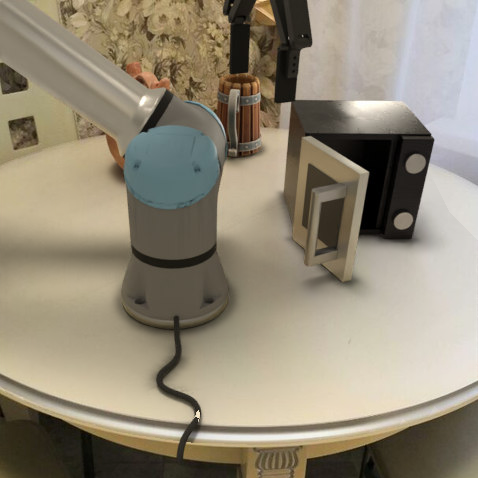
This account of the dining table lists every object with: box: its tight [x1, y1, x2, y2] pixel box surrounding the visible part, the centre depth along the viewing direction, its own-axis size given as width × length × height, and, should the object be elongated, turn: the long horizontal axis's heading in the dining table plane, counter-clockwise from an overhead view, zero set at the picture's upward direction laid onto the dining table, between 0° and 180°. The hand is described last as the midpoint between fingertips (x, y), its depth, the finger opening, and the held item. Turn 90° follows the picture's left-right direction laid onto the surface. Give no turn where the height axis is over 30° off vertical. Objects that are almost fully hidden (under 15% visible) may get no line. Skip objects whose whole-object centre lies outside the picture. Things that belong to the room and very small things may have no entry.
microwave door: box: [291, 136, 369, 283], centre depth 93 cm, size 7×15×18 cm, turn 28°
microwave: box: [283, 99, 435, 239], centre depth 106 cm, size 18×20×18 cm
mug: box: [215, 73, 262, 158], centre depth 130 cm, size 16×11×15 cm
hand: (260, 86), depth 84 cm, fingers open, 13 cm apart
